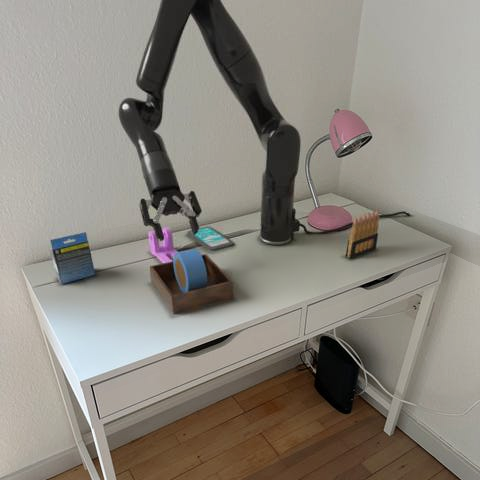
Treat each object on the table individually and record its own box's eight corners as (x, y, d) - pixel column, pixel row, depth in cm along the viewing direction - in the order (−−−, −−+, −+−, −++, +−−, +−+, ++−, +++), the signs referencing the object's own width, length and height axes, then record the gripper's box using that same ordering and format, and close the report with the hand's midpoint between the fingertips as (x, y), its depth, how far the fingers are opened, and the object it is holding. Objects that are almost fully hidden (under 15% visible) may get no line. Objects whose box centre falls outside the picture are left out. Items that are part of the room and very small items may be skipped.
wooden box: (206, 270, 123) (205, 253, 120) (233, 299, 111) (233, 281, 108) (151, 283, 117) (149, 266, 114) (173, 315, 105) (171, 297, 102)
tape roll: (192, 278, 118) (190, 242, 112) (208, 297, 111) (206, 259, 105) (174, 282, 116) (171, 246, 110) (189, 301, 109) (186, 263, 103)
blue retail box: (91, 269, 123) (82, 226, 116) (95, 275, 120) (86, 231, 113) (57, 278, 119) (45, 234, 112) (61, 285, 116) (49, 240, 109)
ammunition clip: (350, 259, 128) (356, 218, 121) (345, 256, 129) (351, 216, 122) (375, 249, 133) (383, 209, 126) (370, 247, 134) (378, 207, 128)
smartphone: (210, 249, 130) (185, 231, 141) (210, 252, 131) (185, 234, 141) (235, 242, 134) (209, 225, 144) (235, 245, 135) (209, 228, 145)
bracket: (150, 252, 131) (147, 229, 127) (168, 247, 134) (166, 225, 130) (170, 271, 122) (167, 247, 118) (189, 265, 125) (187, 242, 121)
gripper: (132, 171, 107) (153, 235, 105) (190, 163, 112) (210, 224, 110) (129, 187, 114) (148, 247, 112) (183, 179, 119) (202, 236, 117)
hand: (179, 236), depth 111 cm, fingers open, 8 cm apart
